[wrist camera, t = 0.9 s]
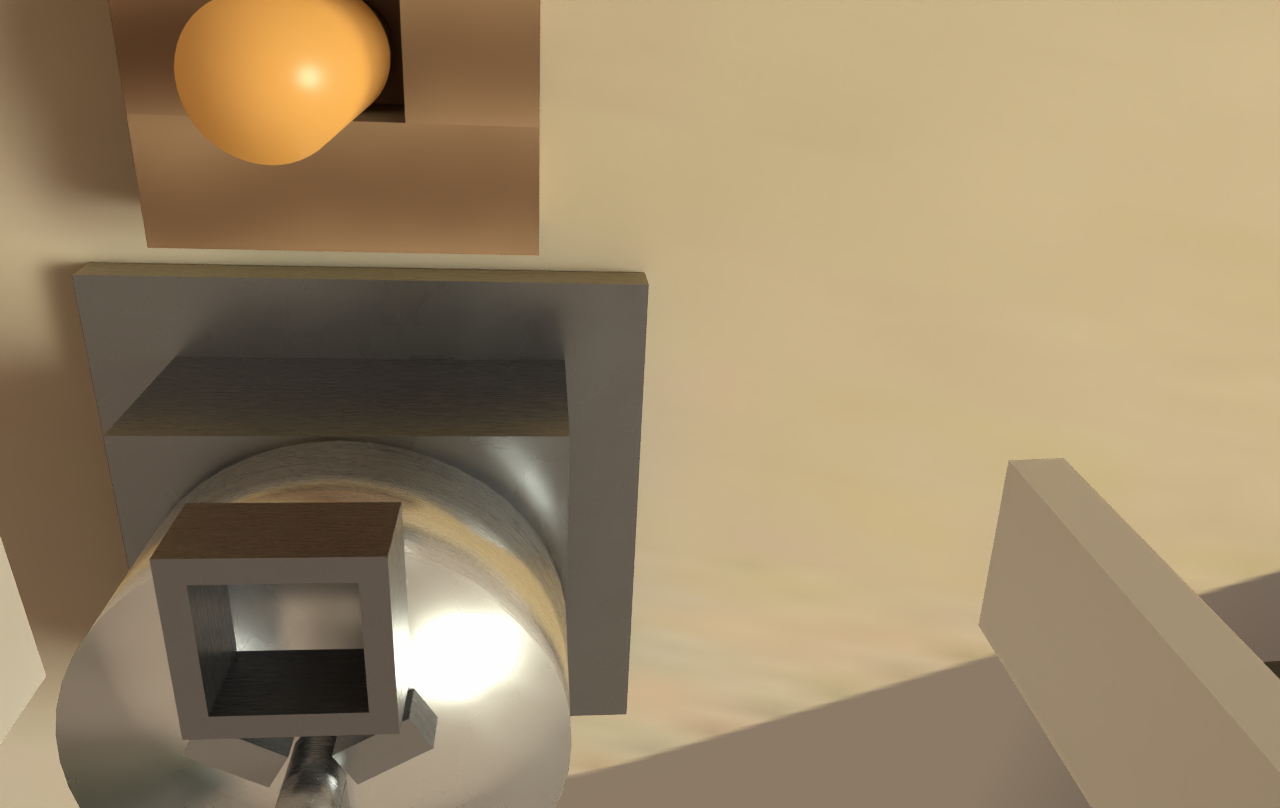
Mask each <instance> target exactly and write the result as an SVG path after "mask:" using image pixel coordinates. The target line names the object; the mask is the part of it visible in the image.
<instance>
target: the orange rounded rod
mask: <svg viewBox="0 0 1280 808" xmlns="http://www.w3.org/2000/svg"><path fill="white" fill-rule="evenodd" d="M392 46H393V40H392V34H391V30H390V27H389V25H388V23H387V21H386V20H385V18H384V17H383V16H382V14H381V13H380V12H379V11H378V10H377V9H375V8H374V7H372V6H371V5H369V4H367V3H365V2H363V1H362V0H212V1H210V2H208V3H207V4H205V5H204V6H203V7H201V8H200V9H199V10H198V11H197V12H196V13H195V14H194V15H193V16H192V17H191V18H190V19H189V21H188V22H187V23H186V25H185V27H184V29H183V31H182V32H181V34H180V37H179V40H178V43H177V46H176V51H175V58H174V74H175V81H176V86H177V91H178V94H179V97H180V100H181V102H182V104H183V106H184V108H185V111H186V112H187V114H188V116H189V117H190V119H191V120H192V122H193V123H194V124H195V126H196V127H197V128H198V129H199V131H200V132H201V133H202V134H203V135H204V136H205V137H206V138H207V139H208V140H209V141H211V142H212V143H213V144H214V145H216V146H217V147H218V148H220V149H221V150H223V151H225V152H226V153H228V154H230V155H232V156H234V157H236V158H239V159H241V160H244V161H247V162H251V163H256V164H262V165H283V164H289V163H293V162H297V161H300V160H302V159H304V158H307V157H309V156H311V155H312V154H314V153H315V152H317V151H318V150H320V149H321V148H322V147H323V146H324V145H325V144H326V143H328V142H329V141H330V140H331V139H332V138H333V137H334V136H336V135H337V134H338V133H339V132H340V131H341V130H342V129H343V128H345V127H346V126H347V125H348V124H349V123H350V122H351V121H353V120H354V119H355V118H356V117H357V116H358V115H359V114H361V113H362V112H363V111H364V110H365V109H366V108H367V107H369V106H370V105H371V104H372V103H373V102H374V101H375V100H376V99H377V97H378V96H379V95H380V93H381V92H382V90H383V88H384V86H385V84H386V82H387V78H388V75H389V70H390V56H391V52H392Z"/></svg>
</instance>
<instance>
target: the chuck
mask: <svg viewBox="0 0 1280 808" xmlns="http://www.w3.org/2000/svg"><path fill="white" fill-rule="evenodd" d="M56 739H57V745H58V752H59V758H60V763H61V766H62V769H63V771H64V774H65V777H66V780H67V783H68V786H69V788H70V790H71V792H72V794H73V796H74V797H75V799H76V801H77V803H78V805H79V807H80V808H555V807H556V805H557V803H558V801H559V799H560V797H561V794H562V792H563V788H564V785H565V781H566V778H567V774H568V770H569V762H570V753H571V726H570V701H569V676H568V651H567V626H566V609H565V600H564V595H563V591H562V586H561V582H560V579H559V576H558V574H557V571H556V568H555V566H554V563H553V561H552V558H551V557H550V555H549V553H548V551H547V550H546V548H545V546H544V544H543V543H542V541H541V539H540V537H539V536H538V535H537V534H536V532H535V531H534V530H533V528H532V527H531V526H530V525H529V523H528V522H527V521H526V519H525V518H524V517H523V516H522V515H521V514H520V513H519V512H518V511H517V510H516V509H515V508H514V507H513V506H512V505H511V504H510V503H509V502H508V501H507V500H506V499H505V498H503V497H502V496H501V495H499V494H498V493H497V492H495V491H494V490H493V489H491V488H490V487H489V486H487V485H486V484H485V483H483V482H482V481H480V480H478V479H476V478H475V477H473V476H471V475H469V474H468V473H466V472H464V471H462V470H461V469H459V468H457V467H455V466H452V465H450V464H448V463H445V462H443V461H441V460H438V459H436V458H434V457H431V456H428V455H425V454H421V453H418V452H415V451H411V450H408V449H404V448H401V447H395V446H389V445H383V444H378V443H372V442H357V441H323V442H308V443H303V444H297V445H291V446H286V447H280V448H276V449H273V450H270V451H267V452H263V453H260V454H257V455H253V456H251V457H248V458H246V459H244V460H242V461H239V462H237V463H235V464H233V465H230V466H228V467H226V468H224V469H223V470H221V471H219V472H218V473H216V474H214V475H213V476H211V477H210V478H208V479H206V480H205V481H203V482H202V483H200V484H199V485H198V486H197V487H196V488H194V489H193V490H192V491H191V492H190V493H188V494H187V495H186V496H185V497H184V498H182V499H181V500H180V501H179V502H178V504H177V505H176V506H175V507H174V508H173V509H172V510H171V512H170V513H169V514H168V515H167V516H166V517H165V518H164V519H163V521H162V522H161V524H160V525H159V527H158V528H157V530H156V531H155V533H154V534H153V536H152V537H151V539H150V540H149V542H148V543H147V545H146V546H145V548H144V549H143V551H142V552H141V554H140V555H139V557H138V558H137V560H136V561H135V563H134V564H133V566H132V567H131V569H130V570H129V572H128V573H127V575H126V576H125V578H124V579H123V581H122V582H121V584H120V585H119V587H118V588H117V590H116V591H115V593H114V594H113V596H112V597H111V599H110V600H109V602H108V603H107V605H106V606H105V608H104V609H103V611H102V612H101V614H100V615H99V617H98V618H97V620H96V621H95V623H94V624H93V626H92V627H91V629H90V630H89V632H88V633H87V635H86V636H85V638H84V640H83V641H82V643H81V644H80V646H79V647H78V649H77V651H76V652H75V654H74V655H73V657H72V659H71V662H70V664H69V667H68V669H67V672H66V674H65V676H64V679H63V681H62V685H61V690H60V694H59V699H58V704H57V709H56Z"/></svg>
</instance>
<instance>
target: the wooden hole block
mask: <svg viewBox="0 0 1280 808" xmlns="http://www.w3.org/2000/svg"><path fill="white" fill-rule="evenodd" d="M210 1H212V0H108V2H109V8H110V15H111V21H112V27H113V33H114V40H115V46H116V52H117V58H118V65H119V71H120V77H121V83H122V90H123V96H124V102H125V109H126V115H127V121H128V127H129V134H130V140H131V146H132V152H133V159H134V165H135V171H136V177H137V184H138V190H139V196H140V202H141V209H142V215H143V221H144V227H145V234H146V240H147V246H148V248H195V249H245V250H295V251H345V252H395V253H446V254H496V255H539V93H540V0H362V1H363V2H365V3H367V4H369V5H371V6H372V7H374V8H375V9H377V10H378V11H379V12H380V13H381V14H382V16H383V17H384V18H385V20H386V21H387V23H388V25H389V27H390V30H391V34H392V40H393V46H392V52H391V56H390V70H389V75H388V78H387V82H386V84H385V86H384V88H383V90H382V92H381V93H380V95H379V96H378V97H377V99H376V100H375V101H374V102H373V103H372V104H371V105H370V106H369V107H367V108H366V109H365V110H364V111H363V112H362V113H361V114H359V115H358V116H357V117H356V118H355V119H354V120H353V121H351V122H350V123H349V124H348V125H347V126H346V127H345V128H343V129H342V130H341V131H340V132H339V133H338V134H337V135H336V136H334V137H333V138H332V139H331V140H330V141H329V142H328V143H326V144H325V145H324V146H323V147H322V148H321V149H320V150H318V151H317V152H315V153H314V154H312V155H311V156H309V157H307V158H304V159H302V160H300V161H297V162H293V163H289V164H283V165H262V164H256V163H251V162H247V161H244V160H241V159H239V158H236V157H234V156H232V155H230V154H228V153H226V152H225V151H223V150H221V149H220V148H218V147H217V146H216V145H214V144H213V143H212V142H211V141H209V140H208V139H207V138H206V137H205V136H204V135H203V134H202V133H201V132H200V131H199V129H198V128H197V127H196V126H195V124H194V123H193V122H192V120H191V119H190V117H189V116H188V114H187V112H186V111H185V108H184V106H183V104H182V102H181V100H180V97H179V94H178V91H177V86H176V81H175V74H174V58H175V51H176V46H177V43H178V40H179V37H180V34H181V32H182V31H183V29H184V27H185V25H186V23H187V22H188V21H189V19H190V18H191V17H192V16H193V15H194V14H195V13H196V12H197V11H198V10H199V9H200V8H201V7H203V6H204V5H205V4H207V3H208V2H210Z"/></svg>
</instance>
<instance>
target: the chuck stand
mask: <svg viewBox="0 0 1280 808" xmlns="http://www.w3.org/2000/svg"><path fill="white" fill-rule="evenodd" d="M72 278H73V283H74V288H75V294H76V299H77V304H78V309H79V314H80V319H81V325H82V330H83V335H84V340H85V345H86V350H87V356H88V361H89V366H90V371H91V376H92V381H93V386H94V392H95V397H96V402H97V407H98V412H99V417H100V423H101V428H102V433H103V438H104V444H105V449H106V454H107V459H108V464H109V469H110V474H111V480H112V485H113V490H114V495H115V500H116V505H117V511H118V516H119V521H120V526H121V531H122V536H123V542H124V547H125V552H126V557H127V562H128V567H129V570H130V569H131V567H132V566H133V564H134V563H135V561H136V560H137V558H138V557H139V555H140V554H141V552H142V551H143V549H144V548H145V546H146V545H147V543H148V542H149V540H150V539H151V537H152V536H153V534H154V533H155V531H156V530H157V528H158V527H159V525H160V524H161V522H162V521H163V519H164V518H165V517H166V516H167V515H168V514H169V513H170V512H171V510H172V509H173V508H174V507H175V506H176V505H177V504H178V502H179V501H180V500H181V499H182V498H184V497H185V496H186V495H187V494H188V493H190V492H191V491H192V490H193V489H194V488H196V487H197V486H198V485H199V484H200V483H202V482H203V481H205V480H206V479H208V478H210V477H211V476H213V475H214V474H216V473H218V472H219V471H221V470H223V469H224V468H226V467H228V466H230V465H233V464H235V463H237V462H239V461H242V460H244V459H246V458H248V457H251V456H253V455H257V454H260V453H263V452H267V451H270V450H273V449H276V448H280V447H286V446H291V445H297V444H303V443H308V442H323V441H357V442H372V443H378V444H383V445H389V446H395V447H401V448H404V449H408V450H411V451H415V452H418V453H421V454H425V455H428V456H431V457H434V458H436V459H438V460H441V461H443V462H445V463H448V464H450V465H452V466H455V467H457V468H459V469H461V470H462V471H464V472H466V473H468V474H469V475H471V476H473V477H475V478H476V479H478V480H480V481H482V482H483V483H485V484H486V485H487V486H489V487H490V488H491V489H493V490H494V491H495V492H497V493H498V494H499V495H501V496H502V497H503V498H505V499H506V500H507V501H508V502H509V503H510V504H511V505H512V506H513V507H514V508H515V509H516V510H517V511H518V512H519V513H520V514H521V515H522V516H523V517H524V518H525V519H526V521H527V522H528V523H529V525H530V526H531V527H532V528H533V530H534V531H535V532H536V534H537V535H538V536H539V537H540V539H541V541H542V543H543V544H544V546H545V548H546V550H547V551H548V553H549V555H550V557H551V558H552V561H553V563H554V566H555V568H556V571H557V574H558V576H559V579H560V582H561V586H562V591H563V595H564V600H565V609H566V626H567V651H568V676H569V701H570V716H579V715H615V714H626V711H627V692H628V673H629V653H630V634H631V615H632V595H633V576H634V557H635V537H636V518H637V499H638V480H639V460H640V441H641V422H642V402H643V383H644V364H645V345H646V325H647V306H648V287H649V284H648V281H647V278H646V275H645V273H632V272H578V271H523V270H469V269H414V268H360V267H305V266H251V265H196V264H142V263H88V264H87V265H85V266H84V267H83V268H81V269H80V270H78V271H77V272H75V273H74V274H72Z"/></svg>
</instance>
